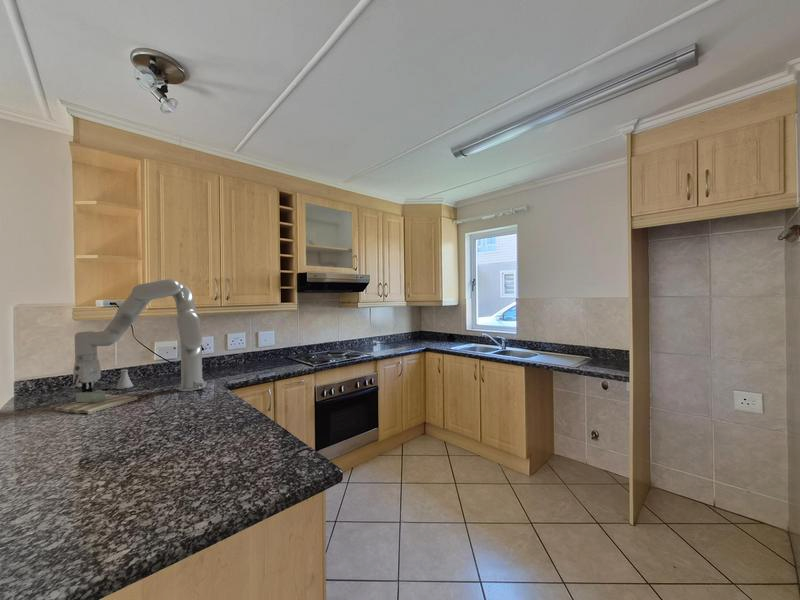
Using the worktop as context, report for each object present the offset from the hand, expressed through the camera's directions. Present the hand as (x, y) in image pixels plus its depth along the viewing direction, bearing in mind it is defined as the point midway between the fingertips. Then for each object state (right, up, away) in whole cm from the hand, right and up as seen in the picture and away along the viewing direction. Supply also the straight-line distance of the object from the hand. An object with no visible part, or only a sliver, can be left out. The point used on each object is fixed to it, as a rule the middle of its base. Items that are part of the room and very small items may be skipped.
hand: (87, 396), depth 152 cm
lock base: (+8, -3, -3) cm, 9 cm away
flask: (-6, -4, +28) cm, 28 cm away
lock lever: (+4, -1, -3) cm, 5 cm away
